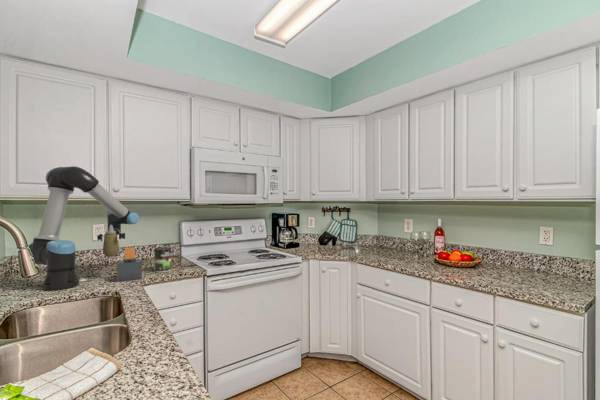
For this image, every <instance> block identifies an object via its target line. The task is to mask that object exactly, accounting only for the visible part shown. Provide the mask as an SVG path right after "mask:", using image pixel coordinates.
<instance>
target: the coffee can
mask: <svg viewBox="0 0 600 400" xmlns="http://www.w3.org/2000/svg"><path fill="white" fill-rule="evenodd" d="M172 249H173V248H172V247H168V246H167V247H156V248H154V249H153V272H154V273H167V272H171V271H172V270H173V269H172Z"/></svg>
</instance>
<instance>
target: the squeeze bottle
mask: <svg viewBox="0 0 600 400" xmlns="http://www.w3.org/2000/svg"><path fill="white" fill-rule="evenodd" d="M105 234H107V235H105ZM105 234H104V235H105V236H104V241H103V246H102V252H103V254H104V257H108V258H110V257H115V256H117V255H118V253H119V251H120V244H119V241H117V235H116V231H114V230H113V226H112V225H110V226H109V230H108V231H106V232H105Z"/></svg>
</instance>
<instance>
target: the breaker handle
mask: <svg viewBox="0 0 600 400" xmlns="http://www.w3.org/2000/svg"><path fill="white" fill-rule="evenodd" d="M136 259H137V257H136V247H124V258H123V261H130V260H136Z"/></svg>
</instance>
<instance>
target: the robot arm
mask: <svg viewBox="0 0 600 400" xmlns="http://www.w3.org/2000/svg"><path fill="white" fill-rule="evenodd" d="M45 181H46V183H47V190H49V194H48V197H47V198H48V199H47V202H46V206H45V209H44V214H43V217H42V220H41V223H40V224H41V225H40V228H39V232H38V235H36V236H34V237H33V240H32V242H31V243H30V244H29V245H28V246H29V248H30V250H31V252H32V254H33V257H34V260H35V263H36V264H35V263H34V264H35V265H44V266H46V274H45V278H44V280H43V282H42V286H41V287H42V290H43V291H58V290H59V291H60V290H65V289H70V288H74V287H77V286H79V285H80V278H79V276H78V273H77V271H76V250H77V249H76V244H75V242H74V241H71V240H65V239H64V240H62V239H61V238H60V232H61V228H62V225H63V220H64V216H65V213H66V210H67V205H68V201H69V197H70V195H71V194H73V193H74V191H75V188H76V189H79V190H81V191H82V192H83V193H87V194H88V195H89V196H91V197H92V198H94V199H95V200H96V201H97V202H98V203H99V204H100V205H102V206H103V207H104V208H106V210H107V216H106V217H107V219H106V220H107V231H108V230H109V226H110V225H112V226H113V230H114V231H116V235H117V241H118V242H119V241H120V240H121V239H123V240H125V239H126V233H125V232H122V228H121V227H122V225H136V224H137V223H139V220H140V219H139V214H138V213H136V212H132V211H130V210H129V209H128V208H127V207H125V205H123V204H122V203H121V201H119V200H118V199H117V198H115V197H114V195H112V194H111V193H110V192H109V191H108V190H106V188H104V186H102V185H101V184H100V180H99V179H97V178H96V177H95V176H94V175H93V174H91V173H90V172H88V171H87V170H85V169H83V168H81V167H79V166H59V167H54V168H51V169H49V171H47V173H46V176H45ZM105 235H107V234H106V233H105V234H103V233H99V234H98V235H97V236H96V237H97V241H100V242H104V236H105Z"/></svg>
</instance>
